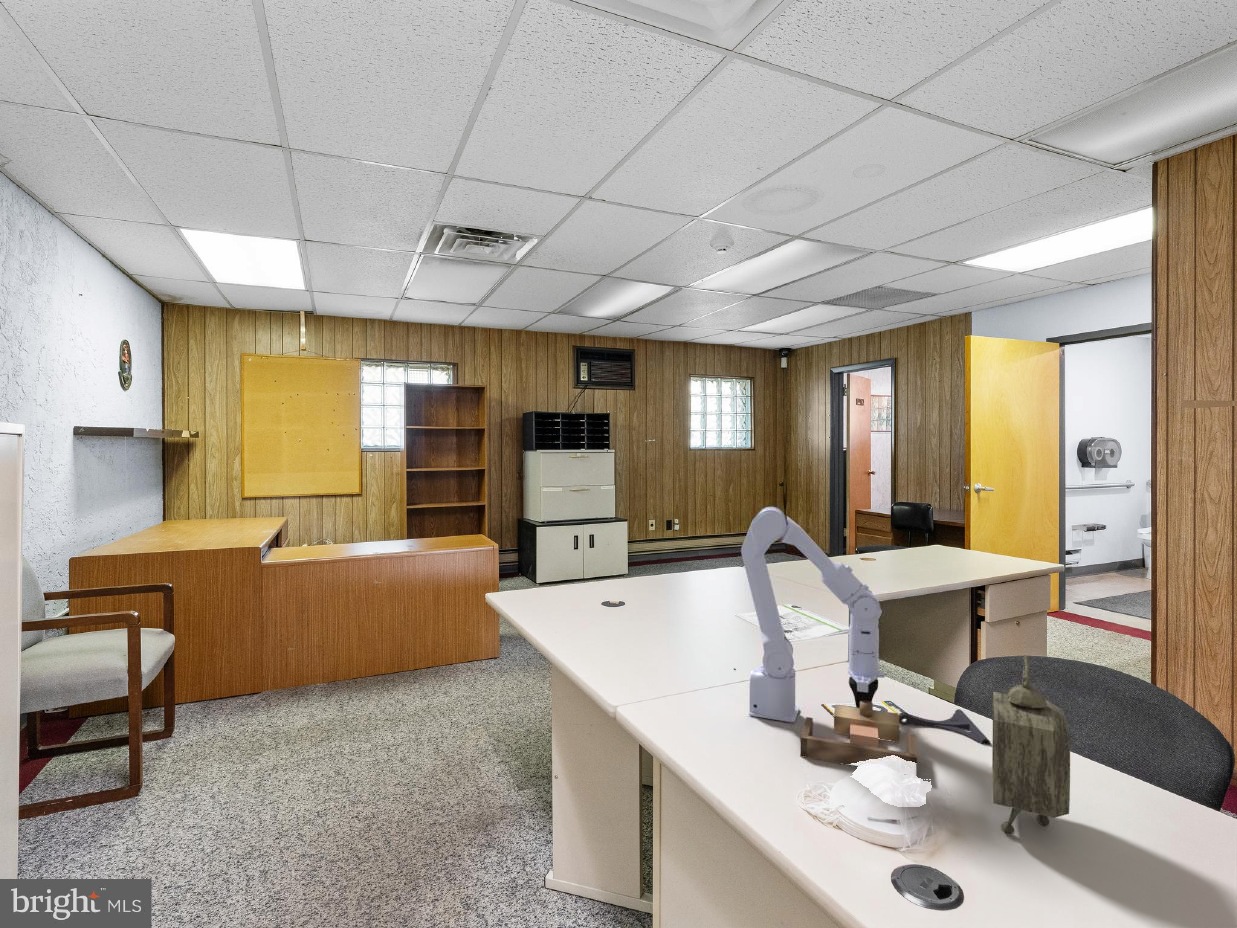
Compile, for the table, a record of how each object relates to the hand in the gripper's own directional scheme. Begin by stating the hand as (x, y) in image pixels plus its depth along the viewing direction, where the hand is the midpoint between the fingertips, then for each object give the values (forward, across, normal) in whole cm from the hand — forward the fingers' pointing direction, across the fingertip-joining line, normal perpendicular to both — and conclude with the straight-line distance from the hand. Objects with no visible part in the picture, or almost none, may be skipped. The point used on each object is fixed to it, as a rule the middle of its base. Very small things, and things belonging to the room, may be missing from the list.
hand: (863, 714), depth 129 cm
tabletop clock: (+2, -28, -24) cm, 37 cm away
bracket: (+2, +4, -14) cm, 15 cm away
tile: (+2, -10, 0) cm, 10 cm away
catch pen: (+2, -15, +1) cm, 15 cm away
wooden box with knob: (+2, -4, -1) cm, 5 cm away
